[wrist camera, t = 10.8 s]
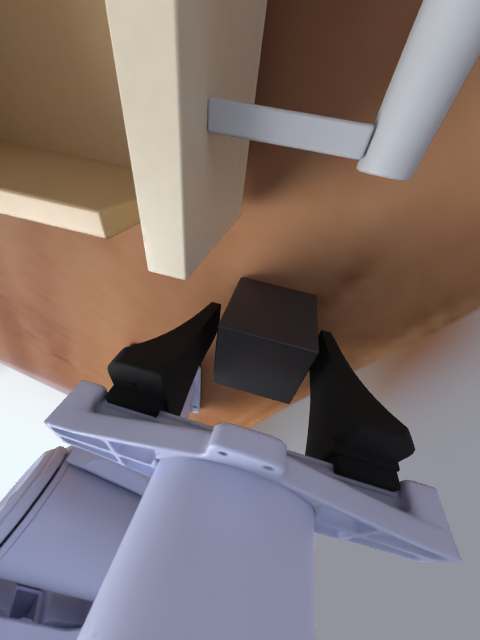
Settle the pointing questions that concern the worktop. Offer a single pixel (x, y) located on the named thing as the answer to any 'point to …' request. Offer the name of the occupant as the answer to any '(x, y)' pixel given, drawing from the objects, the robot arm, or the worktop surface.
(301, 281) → the worktop surface
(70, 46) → the drawer
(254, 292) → the block
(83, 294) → the worktop surface
